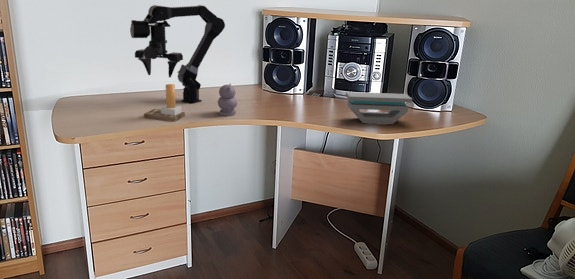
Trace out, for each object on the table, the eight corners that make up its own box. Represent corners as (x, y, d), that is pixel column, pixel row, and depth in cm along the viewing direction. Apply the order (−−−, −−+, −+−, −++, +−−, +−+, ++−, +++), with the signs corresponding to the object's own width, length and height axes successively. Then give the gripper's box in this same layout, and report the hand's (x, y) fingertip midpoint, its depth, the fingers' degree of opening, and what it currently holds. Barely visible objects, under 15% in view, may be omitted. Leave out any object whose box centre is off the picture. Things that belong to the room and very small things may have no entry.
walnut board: (154, 112, 174) (154, 108, 173) (184, 115, 171) (184, 112, 171) (144, 117, 166) (143, 113, 166) (175, 121, 164) (175, 117, 163)
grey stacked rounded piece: (218, 110, 180) (218, 82, 176) (237, 111, 181) (237, 82, 177) (217, 116, 172) (216, 86, 168) (236, 117, 173) (237, 87, 169)
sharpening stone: (346, 123, 173) (349, 96, 169) (343, 117, 180) (345, 91, 177) (408, 125, 175) (412, 98, 171) (402, 119, 182) (406, 94, 178)
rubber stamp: (167, 110, 172) (166, 83, 168) (181, 112, 170) (180, 84, 166) (160, 113, 167) (159, 85, 163) (174, 115, 166) (173, 87, 162)
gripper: (126, 38, 170) (128, 77, 175) (170, 42, 167) (171, 82, 172) (141, 35, 181) (142, 72, 186) (183, 39, 177) (183, 77, 182)
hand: (159, 76), depth 181 cm, fingers open, 9 cm apart
